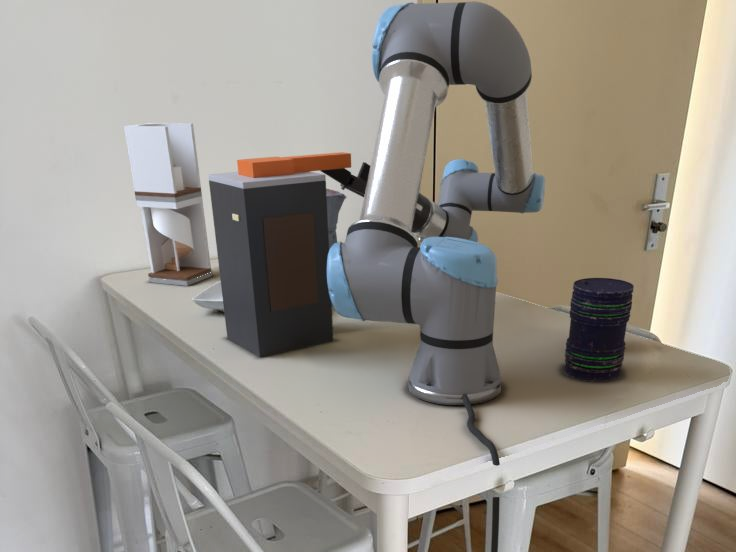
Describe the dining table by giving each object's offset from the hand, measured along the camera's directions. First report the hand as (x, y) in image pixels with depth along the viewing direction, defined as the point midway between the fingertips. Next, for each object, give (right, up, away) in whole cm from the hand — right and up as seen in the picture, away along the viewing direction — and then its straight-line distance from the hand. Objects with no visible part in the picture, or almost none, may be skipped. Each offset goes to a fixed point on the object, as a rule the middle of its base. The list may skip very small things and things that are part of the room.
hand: (341, 166), depth 144 cm
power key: (-7, -3, -4) cm, 9 cm away
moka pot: (-9, +5, +69) cm, 69 cm away
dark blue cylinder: (+44, -40, -10) cm, 61 cm away
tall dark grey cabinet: (-12, -31, +8) cm, 34 cm away
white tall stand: (-43, -6, +51) cm, 68 cm away
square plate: (-17, -17, +32) cm, 40 cm away
